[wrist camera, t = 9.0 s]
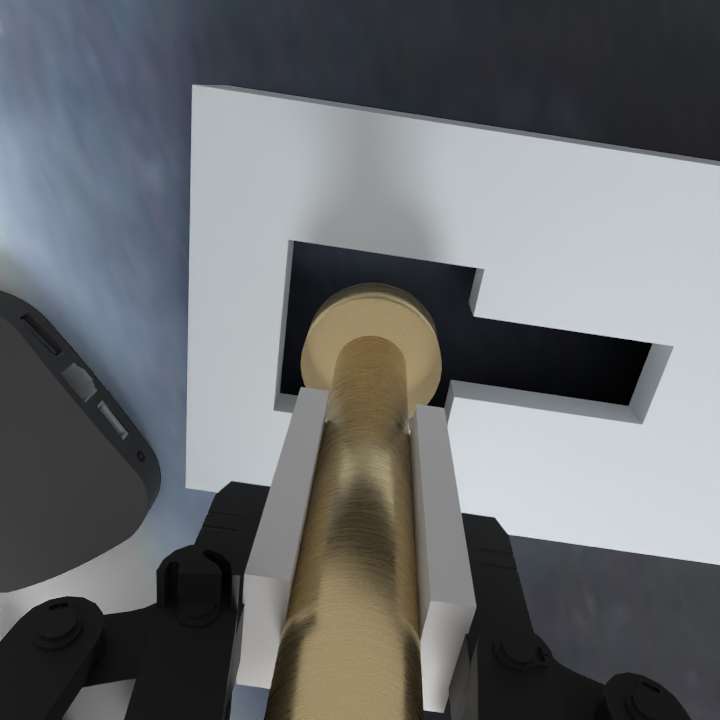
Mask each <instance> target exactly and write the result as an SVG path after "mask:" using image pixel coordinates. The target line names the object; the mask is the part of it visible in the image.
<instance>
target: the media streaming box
mask: <svg viewBox="0 0 720 720" xmlns="http://www.w3.org/2000/svg"><path fill="white" fill-rule="evenodd" d="M109 405H110V406H109ZM113 410H114V411H113ZM116 414H117V415H116ZM120 419H121V420H120ZM123 423H124V424H123ZM160 483H161V474H160V468H159V464H158V461H157V458H156V456H155V454H154V452H153V450H152V449H151V448H150V446H149V445H148V443H147V442H146V441H145V439H144V438H143V437H142V435H141V434H140V433H139V431H138V430H137V428H136V427H135V426H134V424H133V423H132V422H131V420H130V419H129V418H128V416H127V415H126V414H125V413H124V411H123V410H122V409H121V407H120V406H119V405H118V404H117V402H116V401H115V400H114V398H113V397H112V396H111V395H110V393H109V392H108V391H107V390H106V388H105V387H104V386H103V385H102V383H101V382H100V381H99V380H98V378H97V377H96V376H95V375H94V374H93V372H92V371H91V370H90V369H89V368H88V366H87V365H86V364H85V363H84V362H83V360H82V359H81V358H80V357H79V356H78V354H77V353H76V352H75V351H74V350H73V349H72V347H71V346H70V345H69V344H68V343H67V342H66V341H65V339H64V338H63V337H62V336H61V335H60V334H59V333H58V331H57V330H56V329H55V328H54V327H53V326H52V325H51V324H50V322H49V321H48V320H47V319H46V318H45V317H44V316H43V315H42V314H41V313H40V312H39V311H37V310H36V309H35V308H33V307H32V306H31V305H29V304H28V303H26V302H24V301H23V300H21V299H19V298H17V297H15V296H13V295H10V294H8V293H5V292H2V291H0V592H11V591H15V590H18V589H22V588H25V587H28V586H31V585H34V584H37V583H40V582H43V581H45V580H48V579H51V578H53V577H55V576H58V575H60V574H63V573H65V572H67V571H69V570H72V569H74V568H76V567H78V566H80V565H82V564H84V563H86V562H88V561H90V560H92V559H94V558H96V557H97V556H99V555H101V554H103V553H105V552H106V551H108V550H110V549H112V548H113V547H115V546H117V545H118V544H120V543H122V542H123V541H125V540H127V539H128V538H130V537H131V536H132V535H133V534H134V533H135V532H136V531H137V529H138V528H139V527H140V525H141V524H142V522H143V520H144V518H145V517H146V515H147V513H148V511H149V510H150V508H151V506H152V505H153V503H154V501H155V499H156V497H157V495H158V492H159V489H160Z"/></svg>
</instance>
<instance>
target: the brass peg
mask: <svg viewBox="0 0 720 720" xmlns="http://www.w3.org/2000/svg"><path fill="white" fill-rule="evenodd" d="M441 371H442V360H441V354H440V348H439V343H438V337H437V331H436V328H435V324H434V322H433V320H432V317H431V315H430V314H429V312H428V311H427V309H426V308H425V307H424V306H423V304H422V303H421V302H420V301H419V300H418V299H416V298H415V297H414V296H413V295H411V294H410V293H408V292H407V291H405V290H403V289H401V288H398V287H395V286H392V285H389V284H384V283H374V282H373V283H361V284H356V285H352V286H349V287H346V288H344V289H342V290H340V291H338V292H337V293H335V294H333V295H332V296H331V297H330V298H328V299H327V300H326V301H325V302H324V303H323V304H322V305H321V307H320V308H319V309H318V311H317V312H316V314H315V316H314V318H313V320H312V323H311V326H310V329H309V332H308V335H307V338H306V341H305V344H304V347H303V350H302V355H301V373H302V378H303V381H304V384H305V387H306V388H311V389H318V390H325V391H329V395H328V403H327V410H326V418H325V425H324V430H323V435H322V440H321V445H320V450H319V455H318V460H317V465H316V470H315V475H314V480H313V485H312V490H311V495H310V500H309V505H308V510H307V516H306V521H305V526H304V531H303V536H302V541H301V546H300V551H299V556H298V561H297V566H296V571H295V576H294V581H293V586H292V591H291V596H290V601H289V606H288V611H287V617H286V622H285V624H284V627H283V629H282V633H281V638H280V643H279V648H278V653H277V657H276V662H275V667H274V672H273V677H272V682H271V687H270V692H269V697H268V702H267V707H266V712H265V717H264V720H424V709H423V689H422V669H421V650H420V633H419V613H418V593H417V573H416V553H415V534H414V514H413V494H412V474H411V454H410V433H409V419H410V418H412V417H413V416H414V411H415V407H416V404H420V405H427V404H428V403H429V402H430V400H431V399H432V397H433V396H434V394H435V392H436V390H437V388H438V385H439V382H440V378H441Z"/></svg>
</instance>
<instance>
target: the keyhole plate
mask: <svg viewBox="0 0 720 720" xmlns="http://www.w3.org/2000/svg"><path fill="white" fill-rule="evenodd" d="M294 241H301V242H307V243H314V244H320V245H327V246H334V247H340V248H347V249H354V250H360V251H367V252H374V253H380V254H387V255H394V256H400V257H407V258H413V259H420V260H427V261H433V262H440V263H447V264H453V265H460V266H467V267H473V268H476V273H475V277H474V281H473V286H472V290H471V294H470V299H469V306H470V308H471V311H472V314H473V316H474V317H481V318H488V319H494V320H501V321H508V322H514V323H521V324H528V325H534V326H541V327H548V328H555V329H561V330H568V331H575V332H581V333H588V334H595V335H601V336H608V337H615V338H621V339H628V340H635V341H642V342H648V343H652V346H651V349H650V351H649V354H648V356H647V359H646V362H645V364H644V367H643V369H642V372H641V375H640V377H639V380H638V382H637V385H636V388H635V390H634V393H633V395H632V398H631V401H630V403H629V406H626V405H619V404H612V403H605V402H598V401H592V400H585V399H578V398H571V397H565V396H558V395H551V394H544V393H537V392H531V391H524V390H517V389H510V388H504V387H497V386H490V385H483V384H476V383H470V382H463V381H456V380H451V381H450V385H449V389H448V394H447V398H446V402H445V407H444V410H445V416H446V422H447V428H448V434H449V440H450V447H451V453H452V459H453V465H454V471H455V477H456V484H457V490H458V496H459V502H460V508H461V513H467V514H474V515H481V516H488V517H495V518H496V520H497V521H498V522H499V524H500V525H501V526H502V527H503V529H504V530H505V531H506V533H507V534H509V535H516V536H523V537H530V538H537V539H544V540H551V541H557V542H564V543H571V544H578V545H585V546H592V547H599V548H606V549H613V550H620V551H627V552H634V553H641V554H648V555H655V556H662V557H669V558H676V559H683V560H690V561H697V562H703V563H710V564H717V565H720V161H715V160H708V159H702V158H695V157H689V156H682V155H676V154H669V153H663V152H656V151H650V150H643V149H637V148H630V147H624V146H617V145H611V144H605V143H598V142H592V141H585V140H579V139H572V138H566V137H559V136H553V135H546V134H540V133H533V132H527V131H520V130H514V129H507V128H501V127H494V126H488V125H481V124H475V123H468V122H462V121H455V120H449V119H443V118H436V117H430V116H423V115H417V114H410V113H404V112H397V111H391V110H384V109H378V108H371V107H365V106H358V105H352V104H345V103H339V102H332V101H326V100H319V99H313V98H306V97H300V96H294V95H287V94H281V93H274V92H268V91H261V90H255V89H248V88H242V87H235V86H229V85H192V125H191V186H190V247H189V307H188V368H187V429H186V488H189V489H196V490H203V491H210V492H217V493H218V492H219V491H220V490H221V489H223V488H224V487H225V486H226V485H227V484H228V483H230V482H231V481H235V482H242V483H249V484H256V485H263V486H270V487H271V484H272V480H273V477H274V474H275V471H276V467H277V464H278V461H279V457H280V454H281V451H282V447H283V444H284V441H285V437H286V434H287V431H288V427H289V424H290V421H291V417H292V414H293V411H294V408H295V404H296V401H297V398H298V396H297V395H290V394H283V393H280V386H281V375H282V364H283V353H284V343H285V332H286V321H287V310H288V300H289V289H290V278H291V267H292V257H293V246H294ZM412 421H413V417H412V418H410V419H409V433H410V431H411V426H412Z"/></svg>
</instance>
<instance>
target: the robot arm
mask: <svg viewBox="0 0 720 720" xmlns="http://www.w3.org/2000/svg"><path fill="white" fill-rule="evenodd" d="M328 395H329V391H325V390H318V389H311V388H304V387H301V388H300V391H299V394H298V398H297V401H296V404H295V408H294V411H293V414H292V417H291V421H290V424H289V427H288V431H287V434H286V437H285V441H284V444H283V447H282V451H281V454H280V457H279V461H278V464H277V467H276V471H275V474H274V477H273V480H272V484H271V487H270V486H263V485H256V484H249V483H242V482H235V481H231V482H230V483H228V484H227V485H226V486H225V487H224V488H223V489H221V490H220V491H219V492H218V493H217V494H216V495H215V497H214V500H213V502H212V504H211V507H210V509H209V512H208V515H207V516H206V518H205V521H204V523H203V526H202V529H201V530H200V532H199V535H198V537H197V539H196V542H195V544H194V545H189V546H186V547H184V548H181V549H178V550H176V551H174V552H173V553H171V554H170V555H169V556H168V557H166V558H165V559H164V560H163V561H162V563H161V565H160V566H159V568H158V570H157V603H155V604H153V605H150V606H148V607H146V608H143V609H138V610H134V611H129V612H122V613H114V614H107V615H103V613H102V612H101V610H100V609H99V607H98V606H97V605H96V603H94V602H92V601H89V600H87V599H85V598H83V597H70V596H66V597H61V598H56V599H51V600H48V601H46V602H44V603H42V604H40V605H38V606H36V607H34V608H32V609H31V610H30V611H29V612H28V613H26V614H25V615H24V616H23V617H22V618H21V619H20V620H19V621H18V622H17V623H16V624H15V625H14V626H13V627H12V629H11V630H10V631H9V632H8V633H7V634H6V636H5V637H4V638H3V639H2V640H1V641H0V720H230V712H231V699H232V691H233V687H234V683H235V679H236V675H237V679H236V684H239V685H246V686H253V687H260V688H268V689H270V687H271V682H272V677H273V672H274V667H275V662H276V657H277V653H278V648H279V643H280V638H281V633H282V629H283V627H284V624H285V622H286V617H287V611H288V606H289V601H290V596H291V591H292V586H293V581H294V576H295V571H296V566H297V561H298V556H299V551H300V546H301V541H302V536H303V531H304V526H305V521H306V516H307V510H308V505H309V500H310V495H311V490H312V485H313V480H314V475H315V470H316V465H317V460H318V455H319V450H320V445H321V440H322V435H323V430H324V425H325V418H326V410H327V403H328ZM410 454H411V474H412V494H413V514H414V534H415V553H416V573H417V593H418V613H419V633H420V650H421V669H422V689H423V709H424V710H425V711H432V712H440V713H444V710H445V706H446V703H447V700H448V697H449V698H450V709H451V720H691V719H690V717H689V715H688V714H687V712H686V710H685V709H684V708H683V707H682V705H681V704H680V703H679V701H678V700H677V699H676V697H675V696H674V695H672V694H671V693H670V692H669V691H668V690H666V689H665V688H664V687H663V686H662V685H660V684H659V683H657V682H655V681H653V680H651V679H649V678H647V677H645V676H643V675H638V674H633V673H628V672H627V673H622V674H616V675H614V676H613V677H612V678H611V679H610V680H609V681H608V682H607V683H606V685H604V684H601V683H599V682H597V681H594V680H592V679H590V678H587V677H585V676H583V675H580V674H578V673H576V672H574V671H572V670H570V669H568V668H566V667H564V666H563V665H561V664H560V663H559V662H557V661H556V660H555V659H554V658H553V656H552V653H551V650H550V649H549V648H548V646H547V645H546V644H545V643H544V641H543V640H542V639H541V638H540V637H539V636H537V635H536V634H535V633H534V631H533V629H532V625H531V621H530V617H529V613H528V609H527V606H526V602H525V598H524V594H523V590H522V586H521V582H520V579H519V575H518V572H517V567H516V563H515V559H514V557H513V552H512V548H511V544H510V540H509V536H508V534H507V533H506V531H505V530H504V529H503V527H502V526H501V525H500V524H499V522H498V521H497V520H496V518H495V517H488V516H481V515H474V514H467V513H461V508H460V502H459V496H458V490H457V484H456V477H455V471H454V465H453V459H452V453H451V447H450V440H449V434H448V428H447V422H446V416H445V410H444V408H440V407H434V406H427V405H420V404H416V407H415V411H414V416H413V421H412V426H411V431H410Z"/></svg>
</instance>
